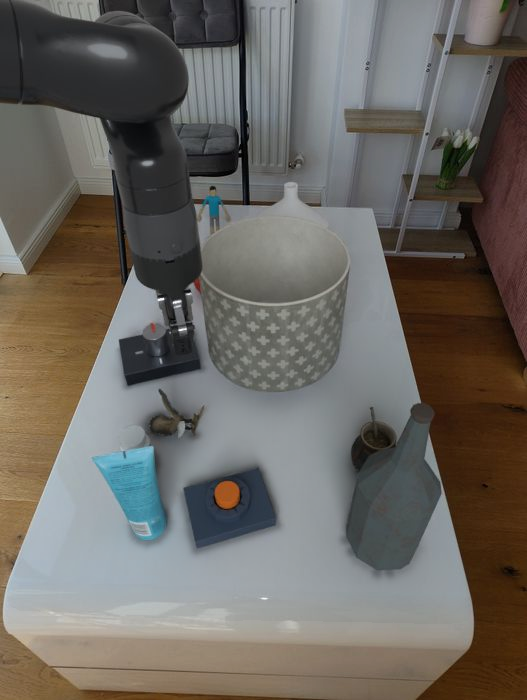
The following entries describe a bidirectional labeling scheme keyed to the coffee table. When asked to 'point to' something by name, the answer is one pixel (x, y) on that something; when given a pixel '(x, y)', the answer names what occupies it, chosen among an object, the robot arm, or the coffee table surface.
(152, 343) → the program dial
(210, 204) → the figurine
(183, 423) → the eagle figurine
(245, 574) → the coffee table surface
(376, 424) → the mate gourd
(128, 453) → the tube
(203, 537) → the button block
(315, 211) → the vase
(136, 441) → the pill bottle
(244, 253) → the planter
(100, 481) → the coffee table surface
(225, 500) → the button
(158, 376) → the dial panel
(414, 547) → the bottle
